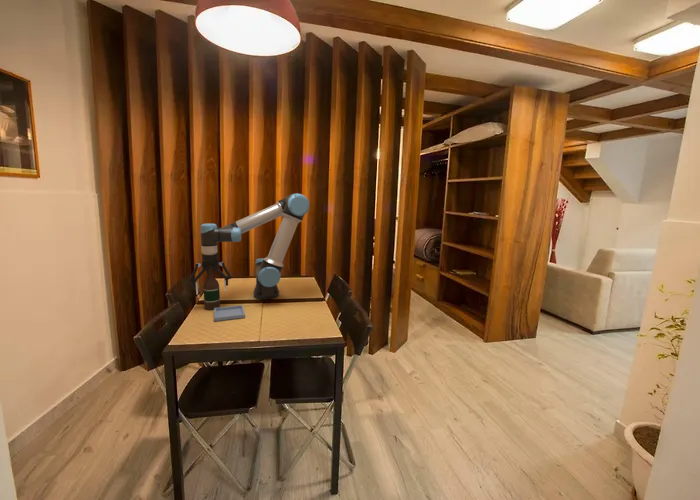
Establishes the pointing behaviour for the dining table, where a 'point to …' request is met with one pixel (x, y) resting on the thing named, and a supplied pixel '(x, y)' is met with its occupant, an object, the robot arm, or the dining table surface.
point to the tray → (229, 313)
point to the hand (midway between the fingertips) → (211, 292)
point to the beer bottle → (211, 291)
